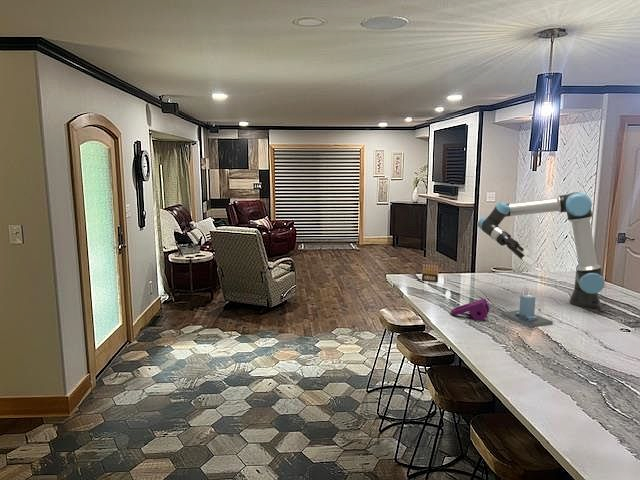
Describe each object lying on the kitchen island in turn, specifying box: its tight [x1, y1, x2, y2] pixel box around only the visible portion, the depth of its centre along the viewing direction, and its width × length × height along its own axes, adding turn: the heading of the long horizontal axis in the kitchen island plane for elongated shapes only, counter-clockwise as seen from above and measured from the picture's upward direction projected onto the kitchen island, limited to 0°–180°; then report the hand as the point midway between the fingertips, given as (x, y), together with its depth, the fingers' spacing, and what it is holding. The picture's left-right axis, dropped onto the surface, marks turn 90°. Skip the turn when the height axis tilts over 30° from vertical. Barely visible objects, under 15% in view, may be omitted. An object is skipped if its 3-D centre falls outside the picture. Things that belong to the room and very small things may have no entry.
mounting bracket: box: [450, 298, 490, 322], centre depth 245 cm, size 9×8×18 cm
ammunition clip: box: [421, 263, 439, 283], centre depth 320 cm, size 11×2×12 cm, turn 67°
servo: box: [515, 294, 538, 320], centre depth 240 cm, size 10×5×13 cm, turn 21°
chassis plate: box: [501, 310, 554, 328], centre depth 241 cm, size 20×14×2 cm
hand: (530, 259), depth 251 cm, fingers open, 13 cm apart
